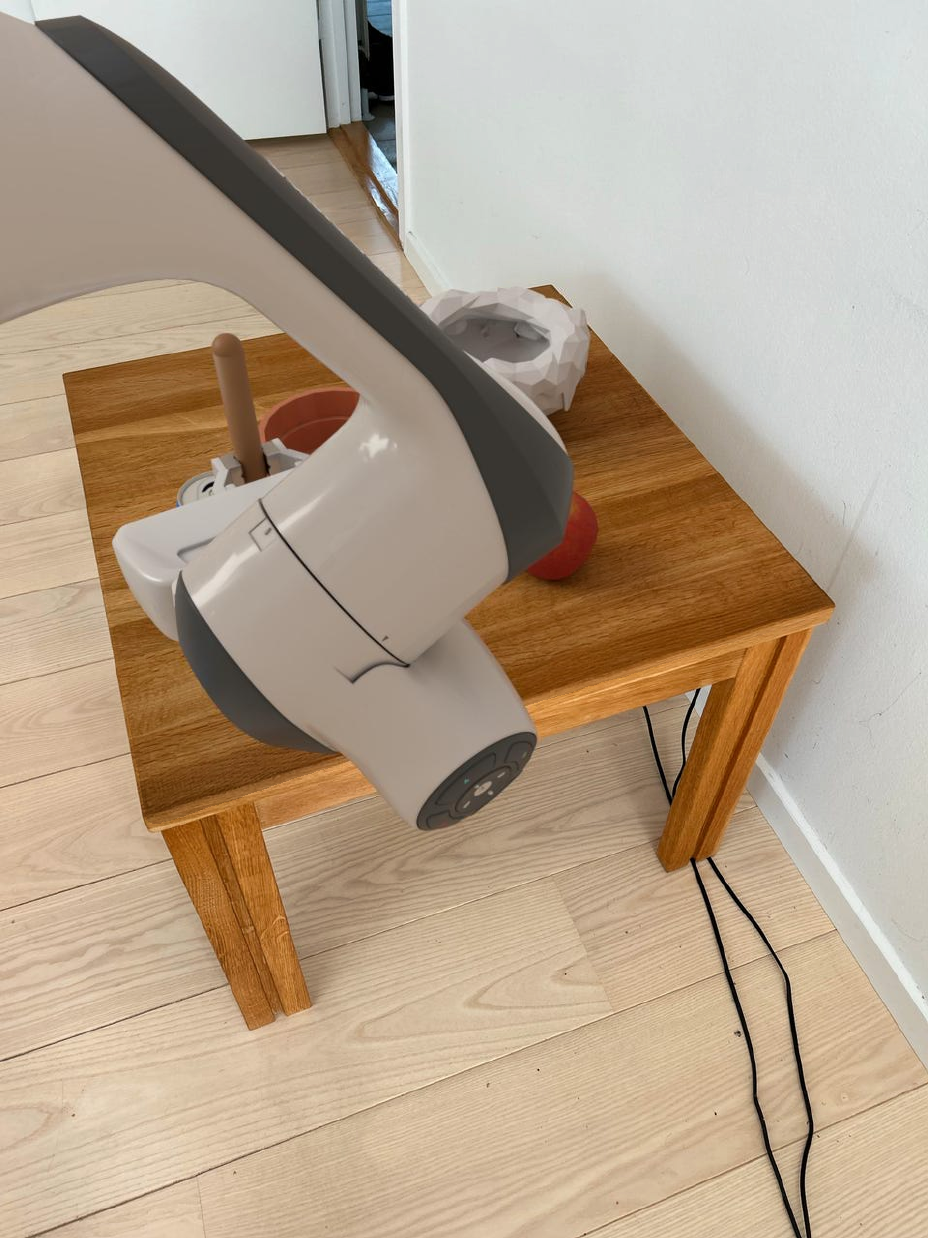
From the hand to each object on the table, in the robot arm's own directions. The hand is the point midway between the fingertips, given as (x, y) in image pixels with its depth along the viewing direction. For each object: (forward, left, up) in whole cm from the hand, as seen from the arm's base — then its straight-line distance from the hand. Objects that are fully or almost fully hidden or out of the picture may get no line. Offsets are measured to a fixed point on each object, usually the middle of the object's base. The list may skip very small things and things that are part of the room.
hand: (245, 457), depth 60 cm
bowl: (+39, +11, -21) cm, 45 cm away
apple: (+23, -9, -21) cm, 32 cm away
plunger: (0, -1, -11) cm, 11 cm away
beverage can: (+2, +8, -21) cm, 22 cm away
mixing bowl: (+19, +14, -20) cm, 31 cm away
